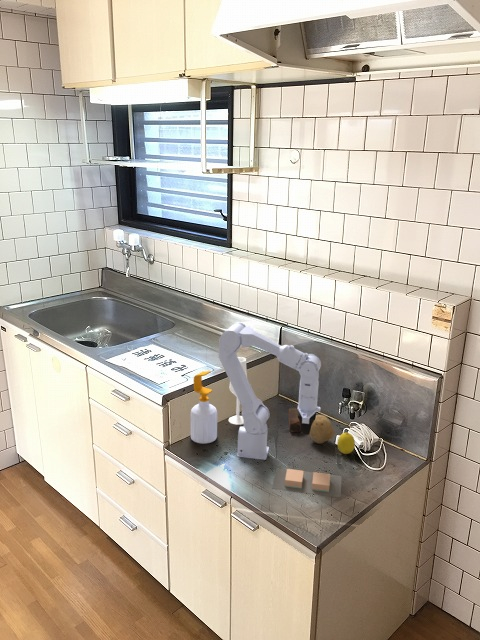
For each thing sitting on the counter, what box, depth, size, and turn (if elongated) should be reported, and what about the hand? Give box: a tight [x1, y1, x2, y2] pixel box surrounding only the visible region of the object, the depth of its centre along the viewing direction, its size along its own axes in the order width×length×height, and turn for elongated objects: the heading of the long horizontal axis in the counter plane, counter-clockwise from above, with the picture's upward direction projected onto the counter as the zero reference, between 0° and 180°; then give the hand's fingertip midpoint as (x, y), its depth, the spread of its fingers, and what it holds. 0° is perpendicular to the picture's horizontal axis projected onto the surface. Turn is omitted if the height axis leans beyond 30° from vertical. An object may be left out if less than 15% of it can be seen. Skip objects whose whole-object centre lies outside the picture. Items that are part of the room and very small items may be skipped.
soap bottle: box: [190, 370, 218, 445], centre depth 188 cm, size 9×9×25 cm
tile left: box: [285, 468, 305, 489], centre depth 167 cm, size 5×2×6 cm
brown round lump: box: [308, 414, 335, 444], centre depth 190 cm, size 9×9×10 cm
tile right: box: [312, 471, 331, 492], centre depth 166 cm, size 5×2×6 cm
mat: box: [272, 467, 342, 498], centre depth 167 cm, size 20×11×1 cm, turn 79°
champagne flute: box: [228, 356, 248, 425], centre depth 201 cm, size 7×7×24 cm
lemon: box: [337, 432, 356, 455], centre depth 183 cm, size 6×6×8 cm
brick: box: [287, 407, 302, 434], centre depth 201 cm, size 11×4×5 cm, turn 178°
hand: (305, 433), depth 175 cm, fingers closed
